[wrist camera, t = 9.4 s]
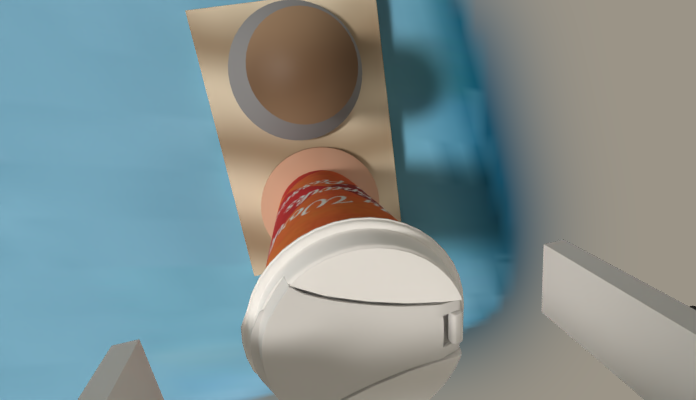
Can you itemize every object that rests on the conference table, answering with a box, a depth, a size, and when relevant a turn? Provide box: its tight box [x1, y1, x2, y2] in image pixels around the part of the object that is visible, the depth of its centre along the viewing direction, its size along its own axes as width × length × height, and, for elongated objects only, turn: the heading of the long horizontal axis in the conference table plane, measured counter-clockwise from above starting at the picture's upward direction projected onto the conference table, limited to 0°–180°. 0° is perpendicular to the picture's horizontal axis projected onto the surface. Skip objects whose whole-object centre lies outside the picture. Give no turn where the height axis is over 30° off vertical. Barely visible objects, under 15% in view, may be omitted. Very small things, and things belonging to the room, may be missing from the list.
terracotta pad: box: [261, 147, 379, 238], centre depth 25 cm, size 8×8×1 cm
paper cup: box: [241, 170, 464, 400], centre depth 18 cm, size 8×8×14 cm
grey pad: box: [228, 0, 362, 140], centre depth 22 cm, size 8×8×1 cm
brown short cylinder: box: [246, 6, 358, 125], centre depth 19 cm, size 5×5×6 cm
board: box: [186, 0, 401, 276], centre depth 24 cm, size 17×11×1 cm, turn 8°
